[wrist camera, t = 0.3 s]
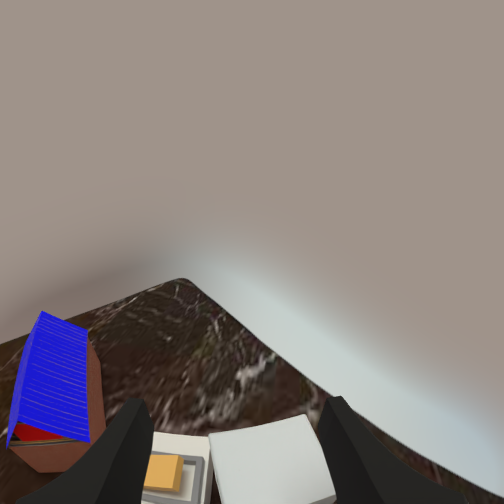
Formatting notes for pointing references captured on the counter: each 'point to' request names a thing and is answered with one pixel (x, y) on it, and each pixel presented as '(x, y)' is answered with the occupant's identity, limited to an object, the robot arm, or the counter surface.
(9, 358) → the counter surface
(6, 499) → the counter surface
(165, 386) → the counter surface
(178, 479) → the amber rocker
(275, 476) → the supplement box
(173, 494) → the cream switch panel
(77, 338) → the house
